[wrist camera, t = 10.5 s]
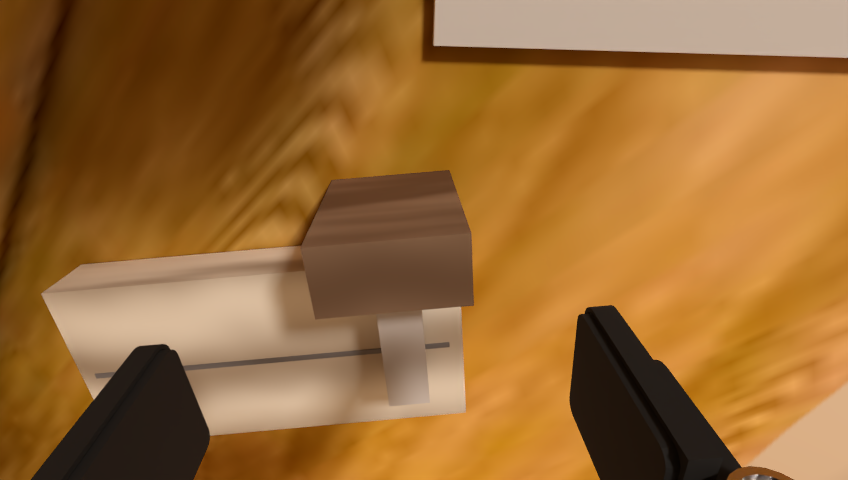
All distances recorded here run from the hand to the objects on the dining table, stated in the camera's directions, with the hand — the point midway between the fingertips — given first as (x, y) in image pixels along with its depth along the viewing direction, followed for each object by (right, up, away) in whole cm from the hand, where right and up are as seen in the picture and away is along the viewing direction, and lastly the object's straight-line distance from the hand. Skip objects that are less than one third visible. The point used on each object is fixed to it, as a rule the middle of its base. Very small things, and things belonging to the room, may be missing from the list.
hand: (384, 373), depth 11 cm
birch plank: (-7, -2, +16) cm, 17 cm away
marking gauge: (0, +2, +14) cm, 15 cm away
